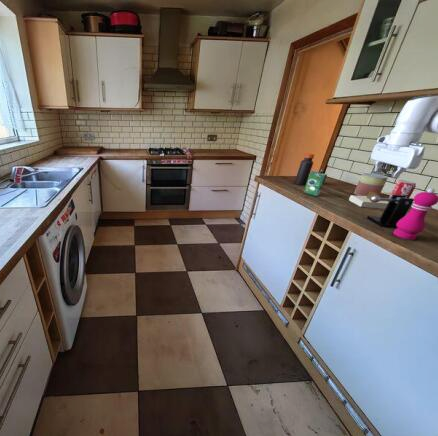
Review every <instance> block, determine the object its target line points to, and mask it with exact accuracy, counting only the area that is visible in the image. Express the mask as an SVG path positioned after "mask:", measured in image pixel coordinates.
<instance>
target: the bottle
mask: <svg viewBox="0 0 438 436" xmlns="http://www.w3.org/2000/svg"><path fill="white" fill-rule="evenodd" d="M314 158H315V154H313V153H305V154H304V159H303V160H301V161H300V164H299V167H298V171H297V173H296V177H295V180H294V184H295V185H298V186H306V184H307V181H308V178H309V175H310V173H311V171H312V169H313V165H314V161H313V160H314Z"/></svg>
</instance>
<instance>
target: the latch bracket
mask: <svg viewBox="0 0 438 436" xmlns="http://www.w3.org/2000/svg"><path fill="white" fill-rule="evenodd" d="M397 197H404V198H400V200H399V201H398V203H395V202H392V201H389V203H388V205H387V207H386V208H385V209H384V210H383V212H382V214H381V216H375V215H367V217H366V219H368V220H369V221H371V222H373V223H374V224H376V225H377V226H379V227H381V228H389V229H390V228H391V229H398V228H397V226H396V224H397V222H398V221H399V220H400V219H401V218H403V217H404V216H406V215H407V214H408V212H409V211H410V208H411V206H412V205H413V203H414V197H413V198H412V197H410V198H405V197H406V196H405V195H394V194H393V195H392V197H391V199H396V198H397Z"/></svg>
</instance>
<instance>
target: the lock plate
mask: <svg viewBox="0 0 438 436" xmlns="http://www.w3.org/2000/svg"><path fill="white" fill-rule="evenodd" d="M366 197H367V196H359V195H356V194H354V195H353V194H352V195H351V194H350V196H349V199H348V201H349V202H351V203H353V204H355V205H357V206H358V207H360V208H369V209H370V208H371V209H384V210H385V208H386V207H387V205H388V203H389V202H388V201H379V202H371V201H370V199H368V198H366Z"/></svg>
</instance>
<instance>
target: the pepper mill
mask: <svg viewBox="0 0 438 436" xmlns="http://www.w3.org/2000/svg"><path fill="white" fill-rule="evenodd" d="M435 191H436V190H435V188H432V187H431V188H428V189H427V190H426V191H421V192H418V193H416V194H415V195H414V197H413V199H414V201H413V203H412V204H411V206H410V208H411V209H409V211H408V212H407V213H406V215H405V216H404V217H403V218H401V219H400V220H399V221H398V222H397V224H396V226H397V228H394V230H393V235H395V237H397V238H401V239H404V240H407V241H414V240H416V238H417V237H418V234H421V233H422V232H423V231H424V229H425V220H426V219H425V218H426V215H427V213H428V212H430V211H431V210H432V209H433V206H435V205H437V204H438V195H437V194H436V193H435Z"/></svg>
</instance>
